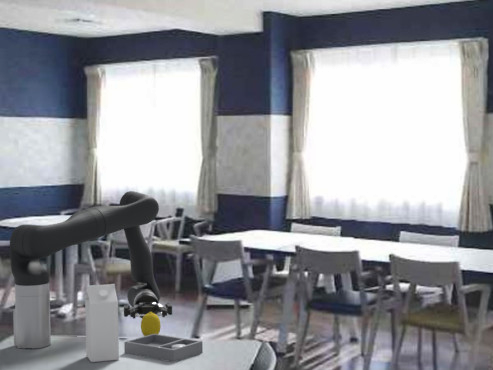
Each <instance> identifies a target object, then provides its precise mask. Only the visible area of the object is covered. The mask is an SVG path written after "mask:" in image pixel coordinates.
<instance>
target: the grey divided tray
mask: <svg viewBox="0 0 493 370" xmlns="http://www.w3.org/2000/svg"><path fill="white" fill-rule="evenodd" d="M123 344H124V346H123V347H124V354H127V355H128V354H129V355H134V356H137V357H139V356H140V357H145V358H150V359H155V360H161V361H166V362H171V363H176V362H177V361H181V360H184V359H187V358H190V357H193V356H196V355H200V354H203V348H204V347H203V341H202V340H196V339H190V338H183V337H179V336H172V335H171V336H170V335H165V334H160V333H159V334H151V335H147V336H144V335H143V336H141V337H138V338H132V339H130V340H127V341H124V343H123Z"/></svg>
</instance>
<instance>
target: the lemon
mask: <svg viewBox="0 0 493 370" xmlns="http://www.w3.org/2000/svg"><path fill="white" fill-rule="evenodd" d="M160 320H161V319H160V318H159V316H157V315H156V314H154V313H152V312H149V313H148V314H146V315H145V316H144V317H143V318H141V322H140V329H141V334H142V335H143V337H144V336H147V335H151V334H159V335H160V332H161V327H162V326H161V321H160Z"/></svg>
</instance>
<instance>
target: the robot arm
mask: <svg viewBox="0 0 493 370" xmlns="http://www.w3.org/2000/svg"><path fill="white" fill-rule="evenodd" d="M159 210H160V206H159V203H158V201H157V200H156V199H155V198H154V197H152V196H151V195H148V194H145V193H141V192H138V191H132V190H131V191H130V190H129V191H126V192H125V193H124V194H123V195H122V196H121V197H120V200H119V204H118V205H99V206H91V207H89V208H84V209H81V210H79V211H76V212H74V213H73V214H72V215H70V216H69V217H68V218H67V219H66V220H64V221H62V222H57V223H53V224H47V225H46V224H45V225H44V224H43V225H42V224H41V225H40V224H39V225H38V224H21V225H18V226H16V227H15V228H14V229H13V230H12V232H11V235H10V239H9V256H10V269H11V273H12V276H13V279H14V306H15V308H14V310H13V313H12V314H13V315H12V316H13V317H12V318H13V319H12V320H13V345H14V346H16V347H17V348H18V347H19V349H25V348H32V349H40V348H45V347H48V346H50V345H51V343H52V341H51V303H50V302H51V299H50V295H51V294H50V274H49V271H48V270H46V269H45V268H43V266H42V264H41V263H40V260H42V259H46V258H47V257H50V256H51V255H53V254H56V253H58V252H60V251H63V250H64V249H66V248H68V247H72V246H75V245H80V244H83V243H87V242H90V241H93V240H97V239H100V238H102V237H105V236H106V235H109V234H113V233H116V232H119V231H121V230H123V231H124V235H125V239H126V244H127V248H128V252H129V253H128V254H129V263H130V272H131V276H130V277H131V280H133V281H134V282H137V283H140V284H139V285H138V284H137V285H133V286H131V287H129V289H128V291H127V296H126V298H127V301H128V304H124V305H123V317H124V318H127V317H130V318H132V319H134V320H135V319H136V317H137V318H141V319H142V318H143V317H144V316H145V315H146V314H148V313H149V312H152V313H154V314H156V315H157V316H158V317H159V316H161V318H165V317H166V316H168V315H169V316H171V315H173V305H172V304H171V303H170V302H166V303H165V304H164V305H163V304H161V303H160V299H161V291H160V289H159V287H158V285H157V282H156V280H155V276H154V268H153V267H154V266H153V257H152V253H151V250H150V249H151V248H150V247H149V245H148V243H147V241H146V240H145V238H144V235H143V232H142V230H141V227H140V226H144V225H148V224H150V223H151V222H152V221H154V220H155V219H156V218H157V216H158V214H159ZM141 283H142V284H141Z"/></svg>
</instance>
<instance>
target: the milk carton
mask: <svg viewBox="0 0 493 370" xmlns="http://www.w3.org/2000/svg"><path fill="white" fill-rule="evenodd" d="M86 289H87V290H86V294H85V298H84V302H85V303H84V305H85V307H84V309H85V310H84V311H85V312H84V313H85V314H84V315H85V350H86V351H85V354H86V357H87V359H88V360H89V361H90V363H97V362H109V361H117V360H120V351H119V350H120V346H119V345H120V343H119V342H120V341H119V337H120V336H119V301H118V296H117V291H116V283H110V284H109V283H108V284H93V285H87V286H86Z"/></svg>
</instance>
